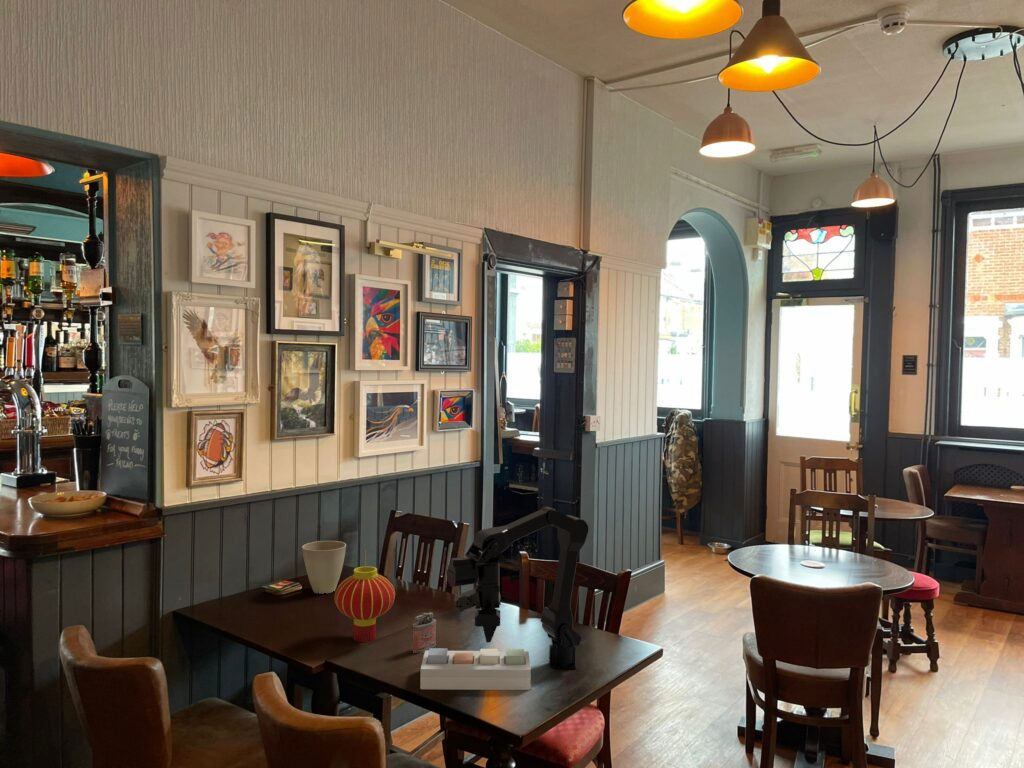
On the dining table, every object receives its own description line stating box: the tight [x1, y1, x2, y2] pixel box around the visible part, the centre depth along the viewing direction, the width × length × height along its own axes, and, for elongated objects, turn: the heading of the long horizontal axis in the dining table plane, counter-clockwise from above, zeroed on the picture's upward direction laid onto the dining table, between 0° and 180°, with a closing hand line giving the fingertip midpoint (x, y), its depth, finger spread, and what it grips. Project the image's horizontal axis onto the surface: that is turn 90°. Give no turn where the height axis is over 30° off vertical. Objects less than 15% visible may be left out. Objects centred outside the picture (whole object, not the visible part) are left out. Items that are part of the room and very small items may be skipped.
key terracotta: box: [454, 653, 473, 664], centre depth 191 cm, size 5×5×2 cm
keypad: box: [419, 650, 532, 691], centre depth 191 cm, size 27×12×5 cm, turn 91°
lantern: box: [334, 551, 396, 643], centre depth 218 cm, size 17×17×30 cm
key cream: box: [479, 648, 499, 664], centre depth 191 cm, size 5×5×2 cm
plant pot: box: [301, 540, 347, 595], centre depth 263 cm, size 15×15×16 cm
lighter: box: [411, 612, 437, 654], centre depth 211 cm, size 8×3×10 cm, turn 141°
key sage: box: [505, 648, 525, 665], centre depth 191 cm, size 5×5×2 cm
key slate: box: [428, 647, 449, 664], centre depth 191 cm, size 5×5×2 cm
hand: (488, 641), depth 191 cm, fingers closed
